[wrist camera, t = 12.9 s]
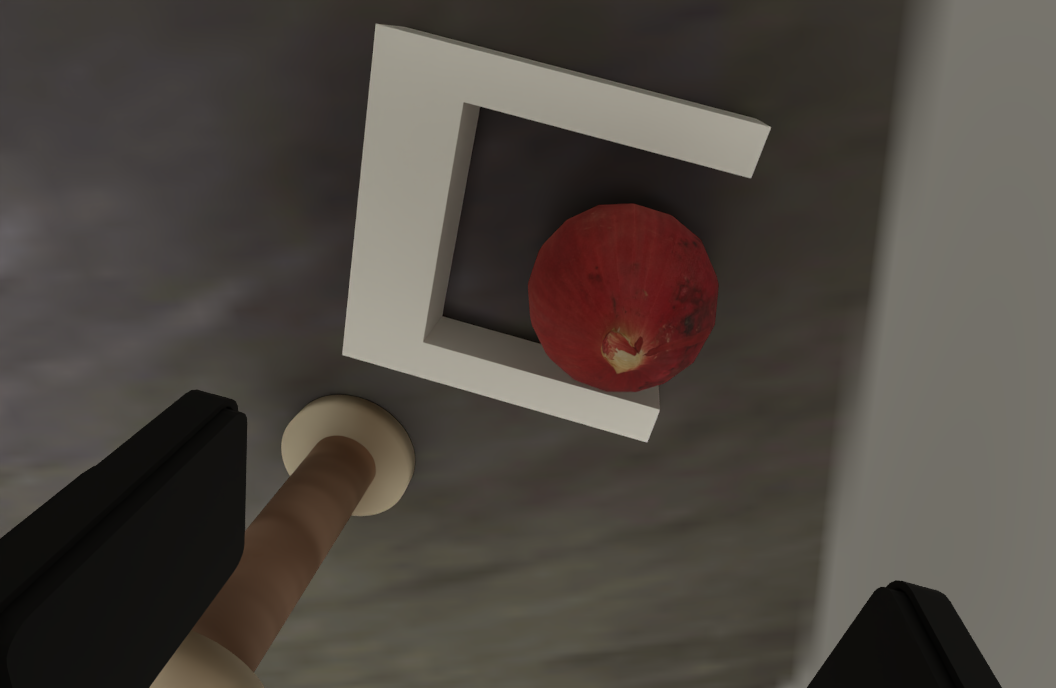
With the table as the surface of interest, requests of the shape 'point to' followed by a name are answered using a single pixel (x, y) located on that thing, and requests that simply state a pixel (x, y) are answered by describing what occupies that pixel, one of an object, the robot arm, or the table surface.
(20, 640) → the robot arm
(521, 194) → the table surface
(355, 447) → the spool
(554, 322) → the pomegranate
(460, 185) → the notched board
